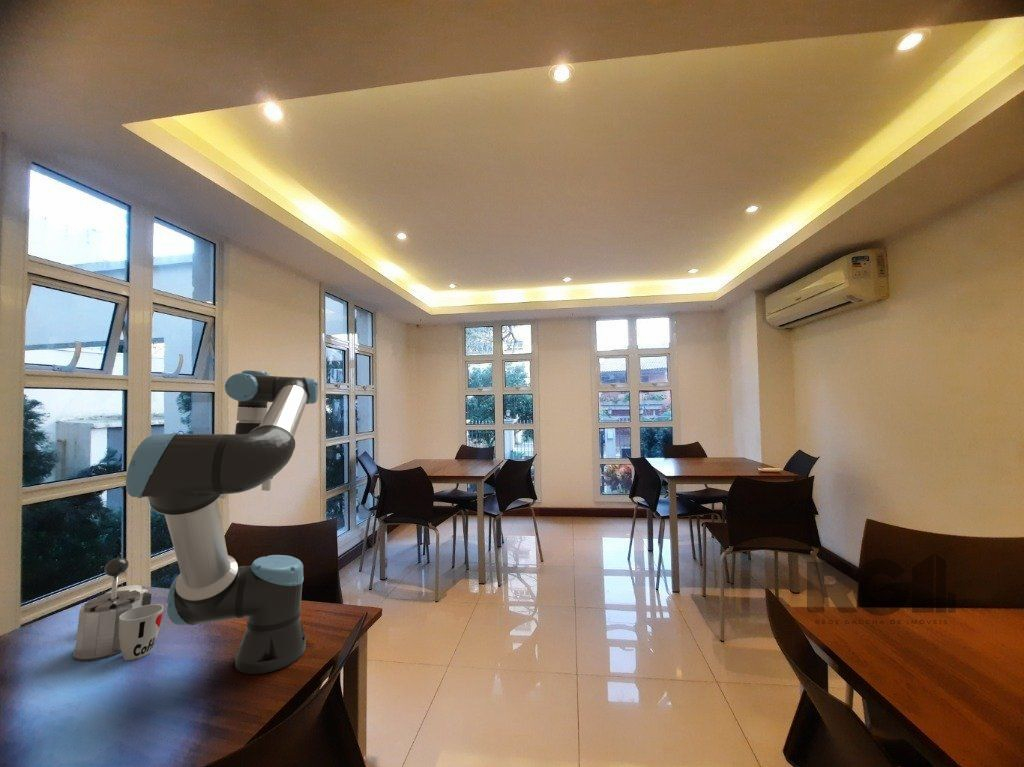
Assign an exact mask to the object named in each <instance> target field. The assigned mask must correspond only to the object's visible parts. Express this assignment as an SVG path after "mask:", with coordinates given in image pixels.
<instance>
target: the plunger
mask: <svg viewBox="0 0 1024 767" xmlns="http://www.w3.org/2000/svg"><path fill="white" fill-rule="evenodd" d="M129 565H130V564H129V560H128V559H127V558H124V557H115V558H113V559H111V560H109V561H108V562H107V563H106V564H105V567H104V573H105V575H107V576H109V577H112V583H111V584H112V585H111V590H112V591H111V600H110V601H112V600H116V594H117V588H118V585H119V576H121V575H123V574H124V573H125V572H127V570H128V568H129ZM111 609H115V607H112V608H111Z"/></svg>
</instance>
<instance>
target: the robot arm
mask: <svg viewBox="0 0 1024 767" xmlns="http://www.w3.org/2000/svg"><path fill="white" fill-rule="evenodd" d="M224 391H225V393H226V395H227V396H228V397H229V398H231V399H233V400H235V401H237V412H236V421H238V422H236V424H235V429H234V430H235V433H234V434H233V433H232V434H229V433H228V434H226V433H223V434H222V433H217V434H216V433H212V434H211V433H209V434H207V433H205V434H204V433H201V434H200V433H197V434H195V433H193V434H192V433H184V434H183V433H181V434H180V433H177V432H172V433H157V434H151V435H149V436H147V437H146V438H144V439H143V440H142V441H141V442H140V443H139V445H137V448H135V451H134V452H133V454H132V457H131V459H130V462H129V464H128V468H127V471H126V478H125V489H126V492H127V494H128V496H130V497H132V498H137V499H143V498H148V501H149V505H150V507H151V508H152V510H153V511H154V512H156V513H157V514H159V515H164V517H165V521H166V525H167V530H168V532H169V535H170V539H171V542H172V547H173V549H174V553H175V557H176V561H177V564H178V568H179V572H180V573H179V574H178V575H176V577H175V578H174V579H173V581H172V583H171V585H170V587H169V590H168V594H167V600H166V602H167V607H166V612H167V616H168V619H169V621H170V622H172V623H173V624H175V625H176V626H177V625H178V626H186V625H188V626H196V625H199V624H200V625H201V624H206V623H212V622H219V621H220V622H221V621H229V620H235V619H243V618H247V622H246V628H245V632H244V634H243V636H242V640H241V642H240V644H239V647H238V649H237V650H236V654H235V661H234V662H235V663H234V665H235V666H234V667H235V669H236V670H237V671H238V672H239V673H242V674H248V675H259V674H266V673H271V672H274V671H277V670H280V669H283V668H285V667H287V666H289V665H291V664H293V663H295V661H297V660H298V659H299V658H300V657H302V655H303V654H304V652H305V651H306V645H307V644H306V642H307V639H306V638H307V637H306V634H305V630H304V627H303V624H302V620H301V608H302V592H303V582H304V579H305V578H304V564H303V562H302V561H301V560H300V559H299V558H296V557H294V556H292V555H286V554H285V555H284V554H283V555H282V554H271V555H267V556H260V557H258V558H256V559H254V561H252V563H251V565H242V566H239V565H238V562H237V561H236V559H235V558H234V557H233V556H231V555H229V554H228V550H227V545H226V539H225V538H226V537H225V533H224V528H223V526H224V525H223V521H222V516H221V510H220V504H219V499H223V500H224V499H227V495H232V494H240V493H245V492H247V491H250V490H252V489H253V490H254V489H255V488H257V487H259V486H261V491H267V492H270V491H271V486H272V480H273V478H274V477H275V476H276V475H277V474H278V473H280V472H281V471H282V469H284V468H285V467H286V466H287V464H288V463H289V462H290V460H291V458H292V457H293V454H294V451H295V448H296V439H295V434H296V432H297V429H298V426H299V424H300V421H301V418H302V416H303V413H304V410H305V407H306V405H311V404H312V405H313V404H316V403H317V401H318V397H319V381H318V380H317V379H315V378H309V377H305V376H303V377H296V376H277V375H276V376H275V375H270V373H268V372H267V371H262V370H242V371H241V372H239V373H235V374H233V375H230V376H229V377H228V378H227V380H226V381H225V384H224ZM268 403H271V405H270V407H269V408H268Z"/></svg>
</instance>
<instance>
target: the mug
mask: <svg viewBox="0 0 1024 767" xmlns="http://www.w3.org/2000/svg"><path fill="white" fill-rule="evenodd" d="M125 590H130V591H133V590H136V591H138V592H140V593H141V594H143V593H146V592H147V593H149V590H148V589H145V588H143V587H142V585H140V584H131V585H125V586H119V587H117V591H125ZM111 591H112V589H110V590H108V591H107V592H105V593H104V594H108V593H111ZM130 591H129V592H130Z"/></svg>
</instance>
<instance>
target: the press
mask: <svg viewBox="0 0 1024 767" xmlns="http://www.w3.org/2000/svg"><path fill="white" fill-rule="evenodd" d="M129 591H130V590H125V591H117V594H116V600H112V601H110V600H111V593H108V594H105V593H104V594H101V595H98V596H96V598H91V599H89V600H88V601H86V602H85V603H84V604H83V605H82V606H81V608H80V609H79V614H78V623H77V629H76V630H77V631H76V636H75V637H76V640H75V647H74V650H73V652H72V658H73V661H77V662H93V661H99V660H103V659H107V658H110V657H113V656H116V655H118V654H122V652H121V649H120V641H119V617H120V615H121V614H123V613H124V612H126V611H128V610H131V609H133V608H137V607H140V606H145V605H151V602H152V593H150V592H148V593H147V592H146V593H143V594H141V593H140V592H138V591H136V590H133V591H130V592H129ZM112 607H115V609H111V608H112Z"/></svg>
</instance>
